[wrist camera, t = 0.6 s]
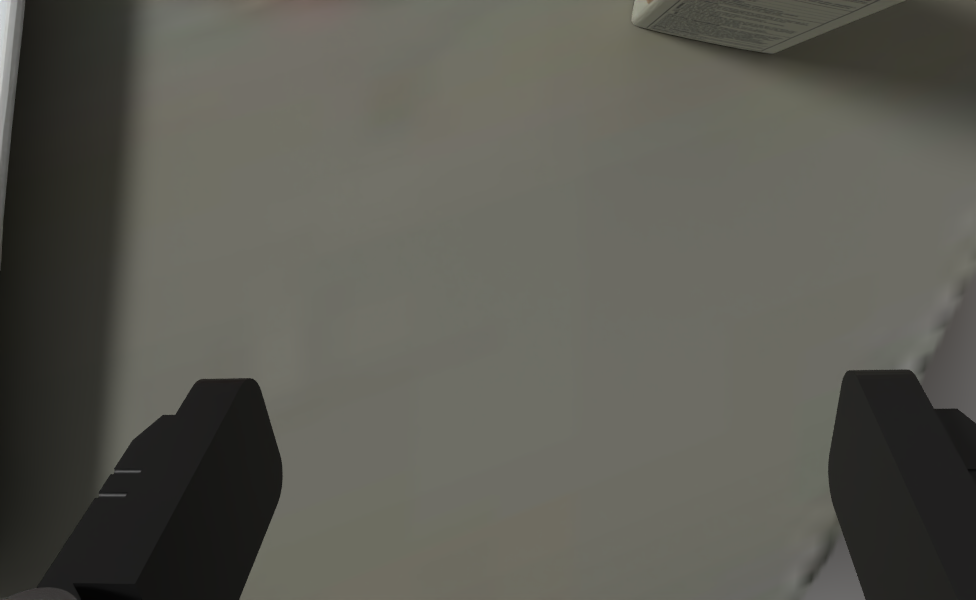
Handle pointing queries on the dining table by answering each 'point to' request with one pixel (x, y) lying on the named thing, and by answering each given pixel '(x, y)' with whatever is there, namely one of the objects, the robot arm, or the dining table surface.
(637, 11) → the skincare box
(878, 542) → the robot arm
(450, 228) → the dining table surface
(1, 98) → the square plate
